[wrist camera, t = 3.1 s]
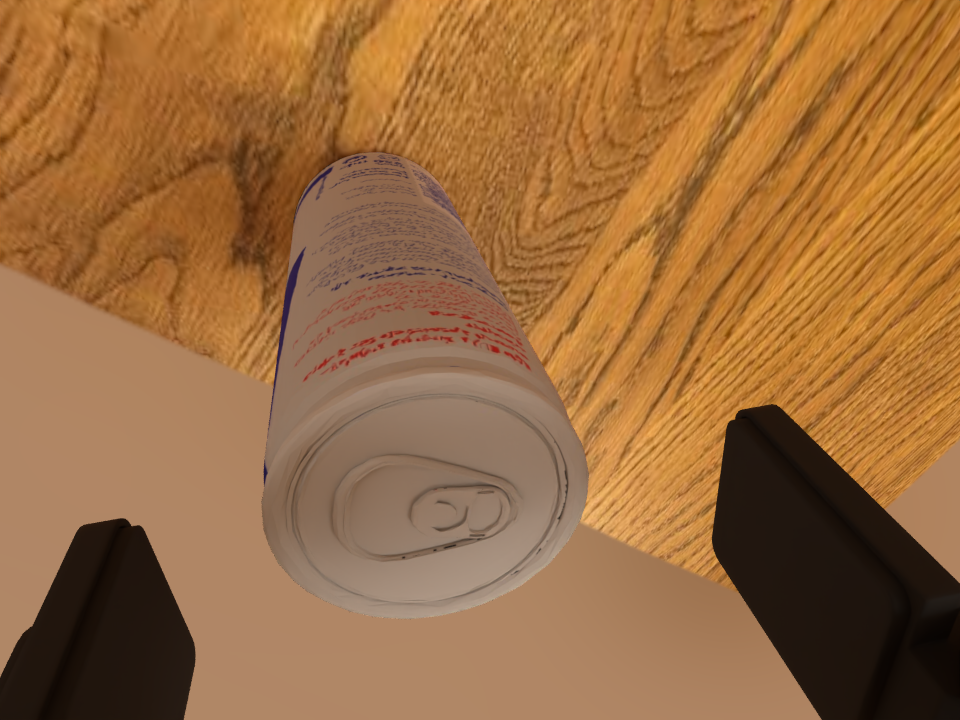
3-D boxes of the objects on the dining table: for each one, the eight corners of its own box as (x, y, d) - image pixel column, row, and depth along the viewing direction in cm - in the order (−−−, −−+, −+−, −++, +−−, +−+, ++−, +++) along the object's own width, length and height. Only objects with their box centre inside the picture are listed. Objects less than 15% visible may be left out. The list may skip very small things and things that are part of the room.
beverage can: (260, 202, 23) (177, 489, 10) (403, 116, 22) (507, 303, 10) (351, 327, 26) (377, 674, 13) (480, 253, 25) (638, 536, 13)
